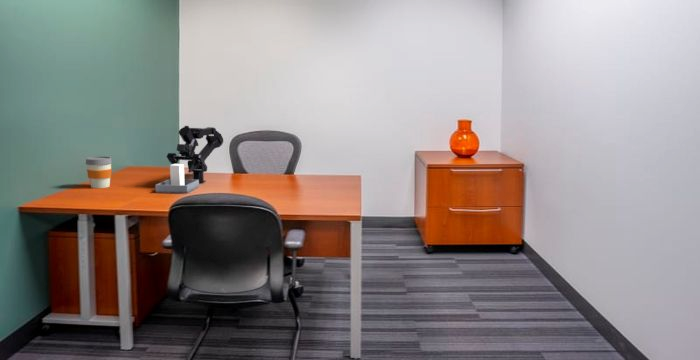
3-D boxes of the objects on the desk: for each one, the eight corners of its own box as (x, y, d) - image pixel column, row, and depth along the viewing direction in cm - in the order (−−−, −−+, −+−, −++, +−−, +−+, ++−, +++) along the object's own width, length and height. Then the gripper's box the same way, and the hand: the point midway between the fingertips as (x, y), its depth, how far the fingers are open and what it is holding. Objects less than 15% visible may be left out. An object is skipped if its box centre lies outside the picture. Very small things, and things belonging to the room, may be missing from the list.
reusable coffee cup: (112, 188, 314) (110, 159, 312) (86, 189, 311) (84, 160, 308) (113, 184, 326) (112, 156, 324) (88, 185, 322) (86, 156, 320)
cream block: (175, 186, 314) (174, 163, 312) (184, 187, 313) (183, 164, 311) (170, 188, 309) (169, 165, 307) (180, 189, 308) (179, 165, 306)
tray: (169, 186, 321) (168, 178, 320) (199, 187, 319) (198, 179, 319) (155, 192, 303) (155, 184, 302) (187, 193, 302) (186, 185, 301)
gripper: (167, 137, 317) (157, 161, 308) (200, 138, 313) (192, 163, 305) (175, 150, 326) (166, 174, 317) (208, 151, 322) (199, 175, 314)
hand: (180, 171), depth 313 cm, fingers open, 9 cm apart
